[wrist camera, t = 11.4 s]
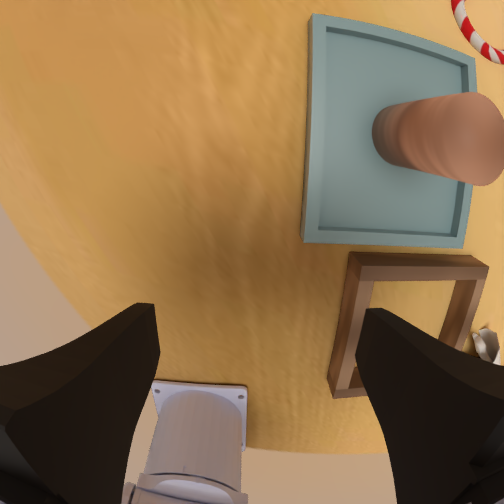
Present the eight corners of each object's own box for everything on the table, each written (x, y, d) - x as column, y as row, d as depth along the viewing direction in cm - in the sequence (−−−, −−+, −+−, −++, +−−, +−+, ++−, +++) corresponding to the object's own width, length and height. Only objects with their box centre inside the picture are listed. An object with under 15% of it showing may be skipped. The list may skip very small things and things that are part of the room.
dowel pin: (423, 170, 18) (504, 191, 10) (369, 162, 18) (441, 179, 10) (426, 111, 17) (509, 105, 9) (372, 100, 16) (444, 80, 9)
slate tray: (451, 242, 20) (462, 248, 19) (299, 235, 20) (303, 242, 19) (463, 61, 16) (474, 58, 14) (307, 21, 15) (312, 13, 14)
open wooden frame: (435, 366, 24) (447, 382, 22) (326, 378, 24) (332, 398, 22) (471, 255, 21) (489, 266, 18) (349, 251, 20) (361, 265, 18)
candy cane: (547, 16, 12) (504, 83, 15) (539, 17, 13) (494, 84, 16) (499, -46, 10) (442, 2, 13) (493, -43, 11) (434, 7, 15)
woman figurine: (525, 309, 18) (539, 379, 23) (495, 285, 22) (521, 360, 27) (427, 408, 20) (472, 443, 26) (406, 374, 25) (458, 420, 30)
